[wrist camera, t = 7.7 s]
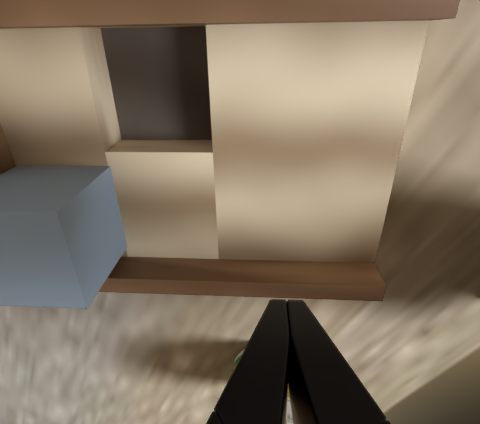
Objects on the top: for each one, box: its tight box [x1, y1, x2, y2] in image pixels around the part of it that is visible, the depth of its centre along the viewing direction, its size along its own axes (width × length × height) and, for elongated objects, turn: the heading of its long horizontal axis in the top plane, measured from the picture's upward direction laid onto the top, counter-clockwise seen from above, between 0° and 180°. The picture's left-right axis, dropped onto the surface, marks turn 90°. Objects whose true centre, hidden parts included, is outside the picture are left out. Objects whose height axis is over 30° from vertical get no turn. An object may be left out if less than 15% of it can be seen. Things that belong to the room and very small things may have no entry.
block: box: [0, 165, 127, 309], centre depth 16 cm, size 5×5×5 cm
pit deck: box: [0, 0, 460, 301], centre depth 17 cm, size 14×20×4 cm
